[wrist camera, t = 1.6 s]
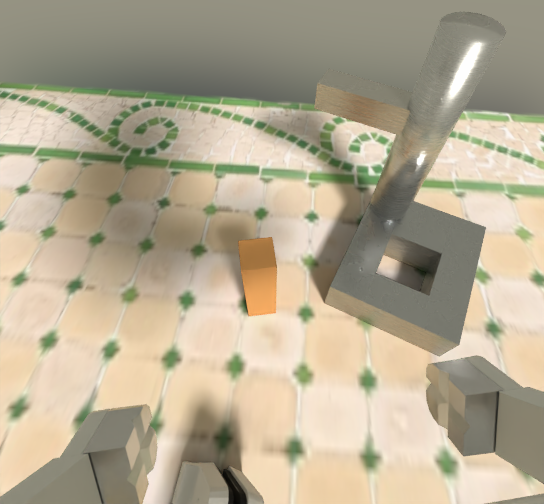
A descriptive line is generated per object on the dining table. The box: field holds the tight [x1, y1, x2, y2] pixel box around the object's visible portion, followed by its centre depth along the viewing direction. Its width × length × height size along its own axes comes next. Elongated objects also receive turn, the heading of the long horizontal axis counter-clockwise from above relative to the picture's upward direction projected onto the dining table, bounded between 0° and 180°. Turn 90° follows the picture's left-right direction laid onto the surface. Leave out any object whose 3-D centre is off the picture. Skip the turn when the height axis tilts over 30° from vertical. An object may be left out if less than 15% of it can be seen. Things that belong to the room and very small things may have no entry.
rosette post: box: [314, 12, 506, 356], centre depth 28 cm, size 20×14×22 cm
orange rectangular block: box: [238, 237, 277, 316], centre depth 31 cm, size 3×3×10 cm
